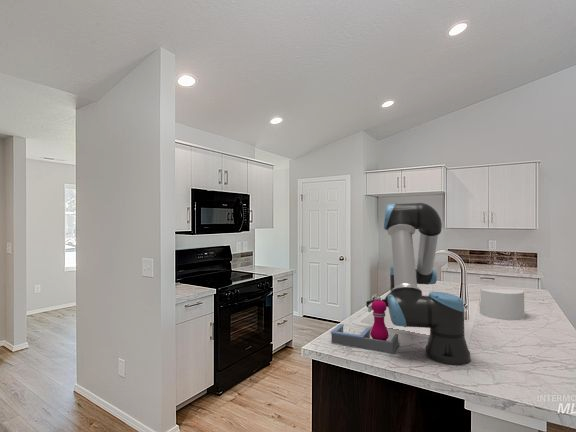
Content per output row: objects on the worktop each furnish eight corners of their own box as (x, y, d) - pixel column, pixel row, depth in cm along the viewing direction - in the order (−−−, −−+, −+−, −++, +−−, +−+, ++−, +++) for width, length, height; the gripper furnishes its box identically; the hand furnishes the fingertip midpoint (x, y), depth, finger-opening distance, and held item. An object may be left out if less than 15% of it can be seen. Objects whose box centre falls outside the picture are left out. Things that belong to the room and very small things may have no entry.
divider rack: (398, 343, 139) (398, 332, 139) (392, 353, 129) (392, 341, 129) (340, 334, 151) (340, 324, 151) (330, 343, 141) (330, 332, 141)
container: (513, 310, 185) (512, 285, 185) (532, 321, 165) (532, 294, 165) (473, 309, 188) (473, 285, 188) (488, 319, 169) (488, 293, 169)
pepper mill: (389, 349, 133) (388, 298, 134) (371, 348, 135) (370, 298, 135) (388, 342, 141) (387, 294, 141) (370, 341, 142) (369, 294, 142)
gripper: (421, 310, 159) (414, 323, 141) (369, 304, 171) (356, 315, 153) (421, 294, 159) (414, 305, 141) (369, 289, 171) (356, 299, 153)
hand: (384, 311), depth 146 cm, fingers open, 13 cm apart
